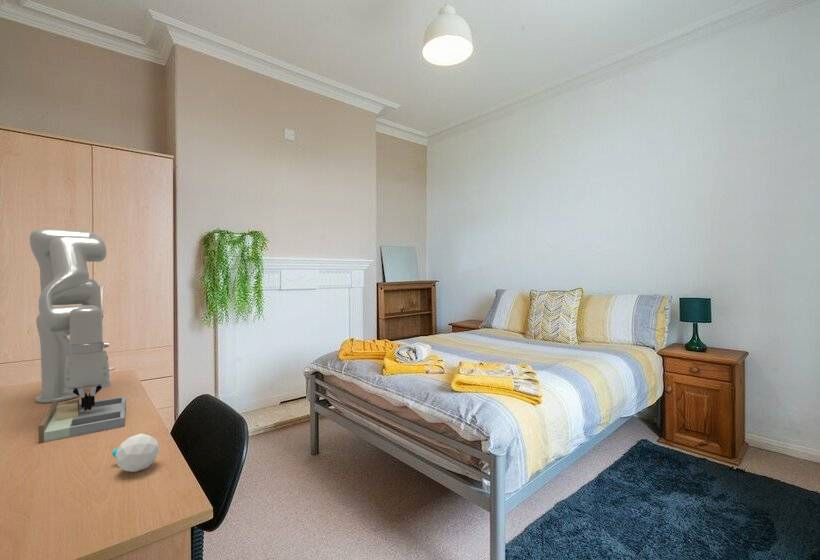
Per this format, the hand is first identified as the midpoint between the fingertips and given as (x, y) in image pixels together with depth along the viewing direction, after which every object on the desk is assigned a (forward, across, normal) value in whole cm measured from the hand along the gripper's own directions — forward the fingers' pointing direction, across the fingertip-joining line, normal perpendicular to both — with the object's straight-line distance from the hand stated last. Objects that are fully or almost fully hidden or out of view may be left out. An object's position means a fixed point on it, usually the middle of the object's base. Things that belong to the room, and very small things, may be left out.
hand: (88, 408), depth 113 cm
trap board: (+4, 0, 0) cm, 4 cm away
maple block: (+1, +4, 0) cm, 5 cm away
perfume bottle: (+4, -11, +41) cm, 43 cm away
